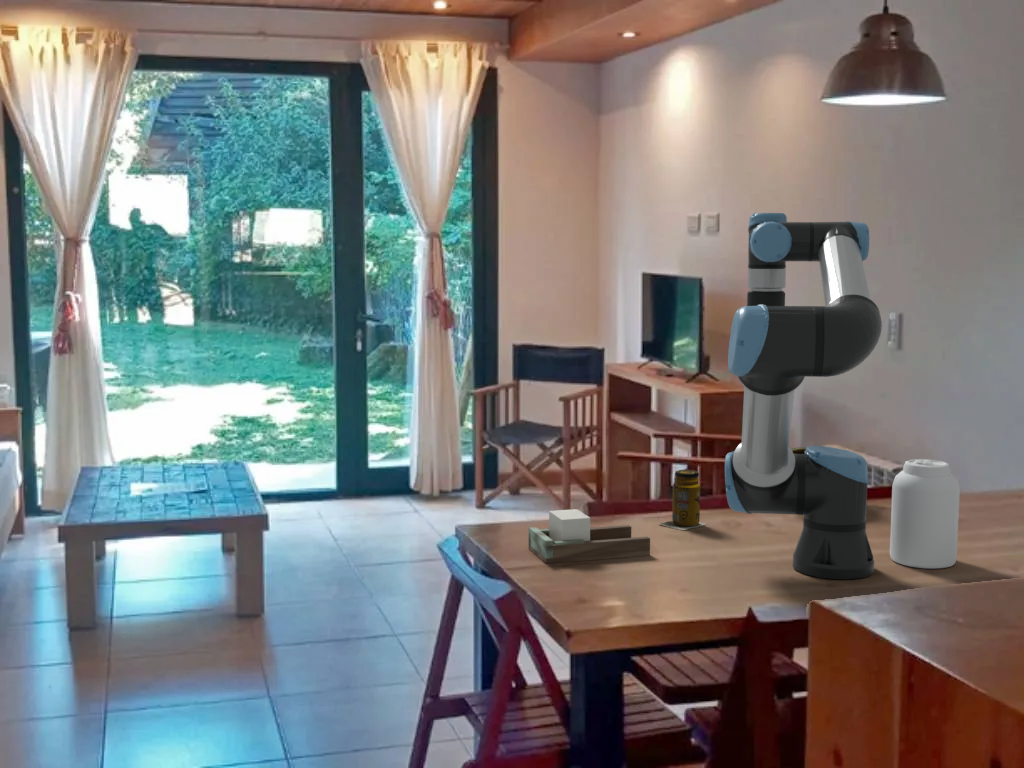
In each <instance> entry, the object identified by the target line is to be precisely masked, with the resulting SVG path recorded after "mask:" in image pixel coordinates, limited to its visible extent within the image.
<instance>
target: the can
mask: <svg viewBox="0 0 1024 768" xmlns="http://www.w3.org/2000/svg"><path fill="white" fill-rule="evenodd" d="M902 467H903V469H902V470H901V471H900V472H898V473H897V474H896V475H895V477H894V479H893V481H892V482H893V483H892V484H891V485H892V487H891V488H892V489H891V509H890V510H891V511H890V512H891V514H890V515H891V516H890V536H889V537H890V541H889V557H890V558H891V560H892V561H894V562H895V563H897V564H899V565H903V566H905V567H906V566H907V567H910V568H915V569H924V570H925V569H927V570H928V569H930V570H931V569H932V570H935V569H946V568H949V567H952V566H955V564H956V561H957V560H958V559H957V556H958V540H959V539H958V537H959V536H958V534H959V517H960V516H959V512H960V495H961V494H960V493H961V491H960V490H961V488H960V487H961V486H960V484H959V480H958V479H957V477H955V476H954V475H953V474H952V473H951V466H950V464H949V463H948V462H945V461H942V460H938V459H937V460H936V459H930V458H929V459H928V458H917V459H915V458H913V459H908V460H906V461H905V462H904V464H903V465H902Z"/></svg>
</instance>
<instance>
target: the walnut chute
mask: <svg viewBox="0 0 1024 768" xmlns="http://www.w3.org/2000/svg"><path fill="white" fill-rule="evenodd" d="M528 550H530V552H531V553H533V554H534V555H535V556H536V557H538V558H539V560H541V561H543V563H545V564H547V565H548V564H558V563H571V562H583V561H595V560H606V559H607V560H608V559H619V558H633V557H643V556H644V557H646V556H651V537H649V536H637V537H636V536H635V537H632V526H631V525H630V524H624V525H611V526H609V525H608V526H598V527H590V541H584V540H583V539H575V540H562V541H553V540H552V539H550V538H549V527H548V528H538V527H536V526H529V527H528Z"/></svg>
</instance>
